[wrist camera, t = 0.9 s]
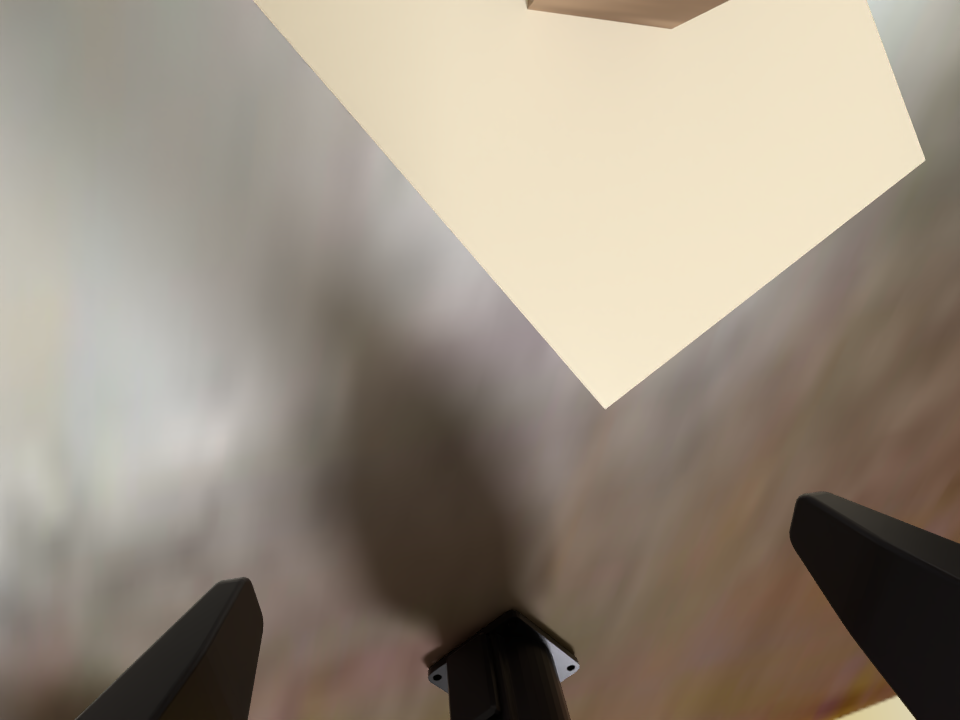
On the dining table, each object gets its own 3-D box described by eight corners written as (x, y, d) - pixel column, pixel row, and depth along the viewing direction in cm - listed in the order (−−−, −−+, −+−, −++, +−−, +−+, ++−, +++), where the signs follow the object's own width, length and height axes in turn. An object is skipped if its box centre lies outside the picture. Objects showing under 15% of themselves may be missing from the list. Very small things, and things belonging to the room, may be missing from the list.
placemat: (911, 160, 20) (925, 160, 19) (600, 403, 22) (605, 409, 22) (667, -481, 12) (678, -510, 12) (244, -11, 15) (237, -18, 14)
